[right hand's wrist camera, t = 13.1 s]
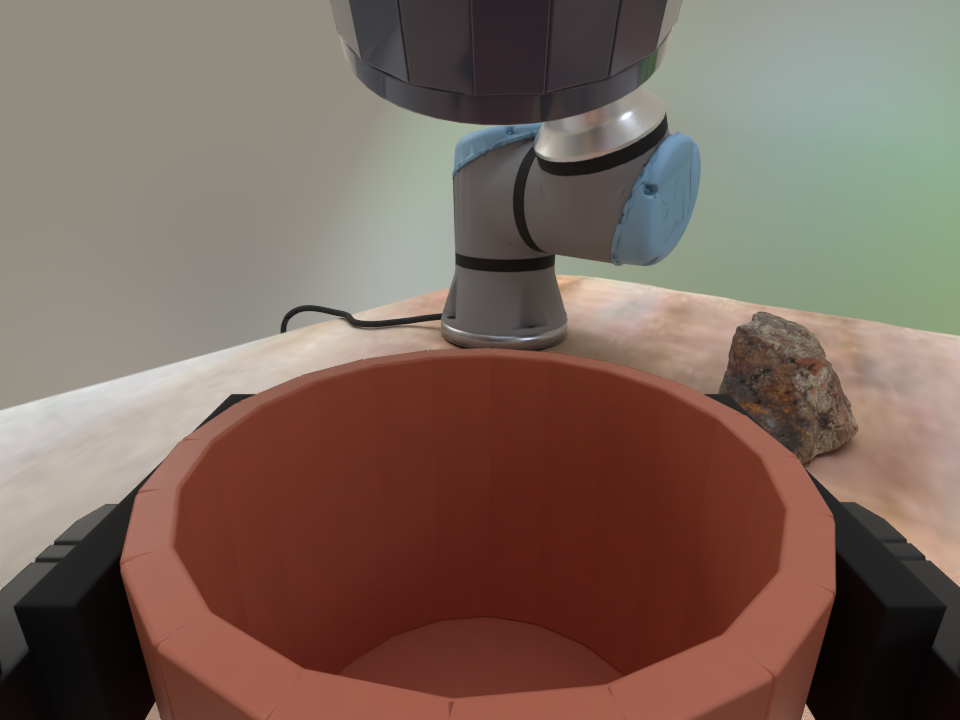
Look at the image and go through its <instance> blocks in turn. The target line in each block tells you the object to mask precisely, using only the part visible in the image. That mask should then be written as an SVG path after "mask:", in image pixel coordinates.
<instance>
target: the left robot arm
mask: <svg viewBox="0 0 960 720" xmlns="http://www.w3.org/2000/svg"><path fill="white" fill-rule="evenodd" d="M700 169H701V160H700V153H699V149H698V146H697V144H696V143H695V142H694V140H693V139H692V138H691V137H689V136H687V135H683V134H679V132H677V133H675V134H672V135H671V134H670V133H669V130H668V123H667V116H666V109H665V105H664V102H663V101H662V100H661V99H660V98H659V97H657V96H655V95H654V94H652V93H650V92H648V91H646V90H645V89H644V88H643V84H642V85H641V86H640V87H638V88H637V89H636V90H634V91H633V92H631V93H629V94H628V95H626V96H624V97H623V98H621V99H619V100H617V101H615V102H613V103H611V104H608V105H606V106H604V107H602V108H599V109H596V110H593V111H590V112H587V113H584V114H581V115H577V116H573V117H569V118H564V119H560V120H555V121H548V122H543V123H535V124H521V125H510V126H498V127H492V128H486V129H482V130H478V131H474V132H471V133H468V134H466V135H464V136H463V137H462V138H461V139H460V140H459V141H458V142H457V144H456V147H455V159H454V170H453V173H452V175H453V193H454V225H455V255H456V256H455V257H456V269H455V274H454V278H453V281H452V284H451V287H450V291H449V294H448V297H447V301H446V304H445V307H444V310H443V313H441V314H432V315H423V316H417V317H410V318H401V319H392V320H383V321H361V320H356V319H354V318H353V317H352V315H351V314H349V313H347V312H344V311H340V310H335V309H330V308H325V307H321V306H313V305H305V306H299V307H296V308H294V309H292V310H291V311H289V312H288V313H287V314H286V315H285V317H284V318H283V321H282V324H281V331H280V334H282V333H286V329H287V324H288V321H289V320H290V318H291V317H292V316H294V315H295V314H297V313H299V312H303V311H317V312H323V313H327V314H331V315H336V316H341V317H345V318H346V319H347V320H348V321H349V322H350V323H351V324H353V325H355V326H360V327H384V326H393V325H401V324H411V323H417V322H424V321H433V320H441V331H442V336H443V337H444V338H445V339H446V340H448V341H449V342H451V343H453V344H456V345H459V346H462V347H465V348H470V349H477V348H491V349H493V348H497V349H511V350H525V351H531V350H537V349H542V348H547V347H550V346H553V345H555V344H557V343H559V342H561V341H563V340H564V339H565V337H566V335H567V317H566V316H567V314H566V312H565V309H564V305H563V302H562V298H561V294H560V291H559V287H558V283H557V280H556V276H555V270H554V268H555V254H556V255H563V256H569V257H576V258H582V259H588V260H594V261H601V262H607V263H612V264H614V265H617V266H620V265H623V264H628V265H639V266H649V265H653V264H656V263H658V262H660V261H662V260H663V259H664V258H666V257H667V256H668V255H669V254H670V253H671V252H672V250H673V249H674V248H675V247H676V245H677V244H678V242H679V241H680V239H681V237H682V235H683V233H684V231H685V229H686V227H687V225H688V223H689V220H690V218H691V214H692V212H693V209H694V206H695V202H696V198H697V194H698V188H699V182H700Z"/></svg>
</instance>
